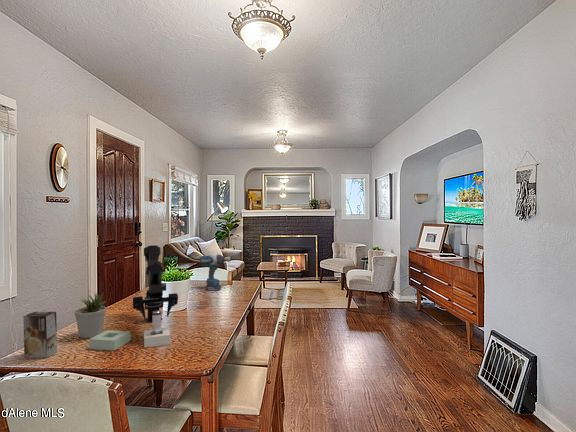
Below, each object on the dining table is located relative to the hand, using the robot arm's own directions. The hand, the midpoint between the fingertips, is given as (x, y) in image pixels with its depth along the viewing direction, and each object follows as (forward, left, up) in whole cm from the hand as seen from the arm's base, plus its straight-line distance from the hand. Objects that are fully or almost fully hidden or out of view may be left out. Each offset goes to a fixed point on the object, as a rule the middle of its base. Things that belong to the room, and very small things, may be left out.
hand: (156, 317), depth 153 cm
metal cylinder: (+2, -1, -10) cm, 10 cm away
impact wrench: (-59, +78, -10) cm, 98 cm away
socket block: (+2, -1, -10) cm, 10 cm away
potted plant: (-28, -16, -10) cm, 34 cm away
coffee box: (-20, -37, -10) cm, 43 cm away
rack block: (-10, -15, -10) cm, 20 cm away
